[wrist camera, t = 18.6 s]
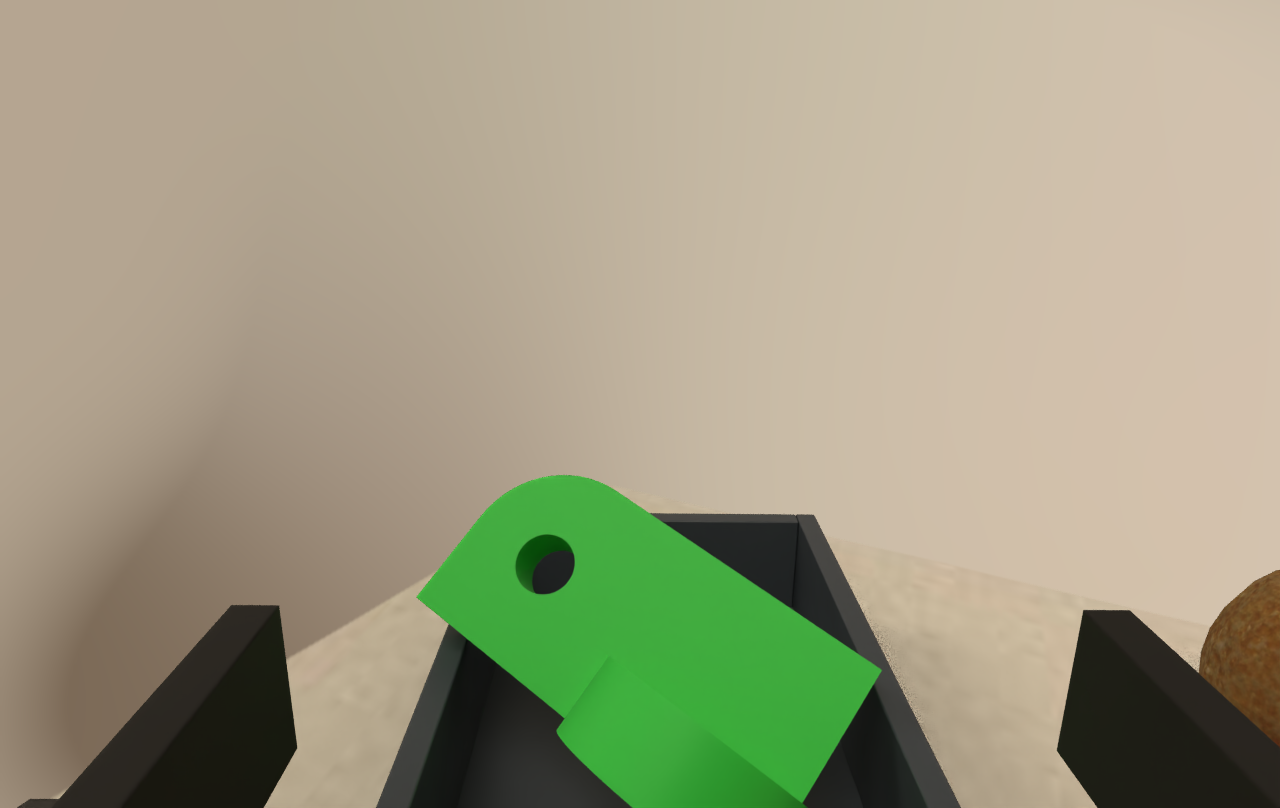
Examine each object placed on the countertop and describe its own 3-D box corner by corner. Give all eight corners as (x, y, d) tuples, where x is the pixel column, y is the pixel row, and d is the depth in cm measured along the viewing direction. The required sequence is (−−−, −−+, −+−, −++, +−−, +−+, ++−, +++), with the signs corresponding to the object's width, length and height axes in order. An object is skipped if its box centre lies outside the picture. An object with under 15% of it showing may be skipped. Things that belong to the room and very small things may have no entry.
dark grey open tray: (348, 1105, 17) (326, 929, 16) (496, 611, 36) (492, 511, 35) (991, 1106, 17) (1024, 931, 16) (806, 614, 36) (814, 514, 35)
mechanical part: (872, 677, 24) (922, 635, 17) (758, 867, 22) (758, 912, 15) (555, 462, 28) (483, 352, 21) (439, 609, 26) (318, 546, 19)
